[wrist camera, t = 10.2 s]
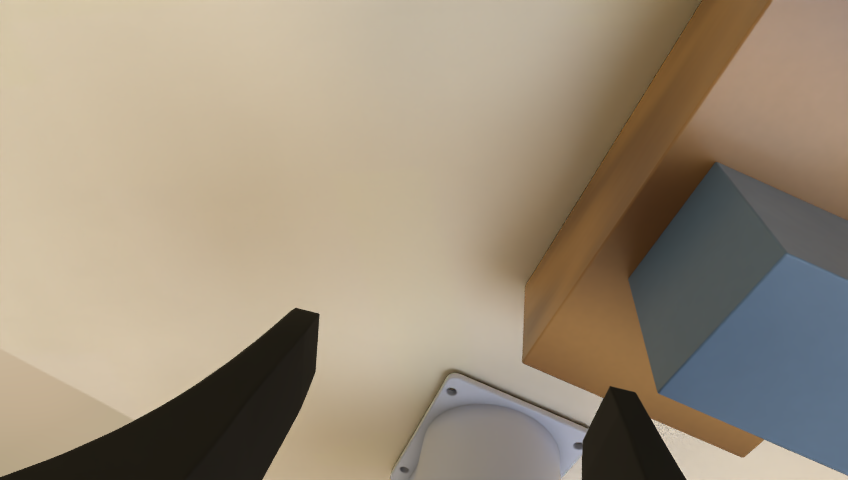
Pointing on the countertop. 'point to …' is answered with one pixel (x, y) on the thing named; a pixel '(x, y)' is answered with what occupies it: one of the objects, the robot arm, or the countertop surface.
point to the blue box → (752, 314)
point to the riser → (692, 183)
